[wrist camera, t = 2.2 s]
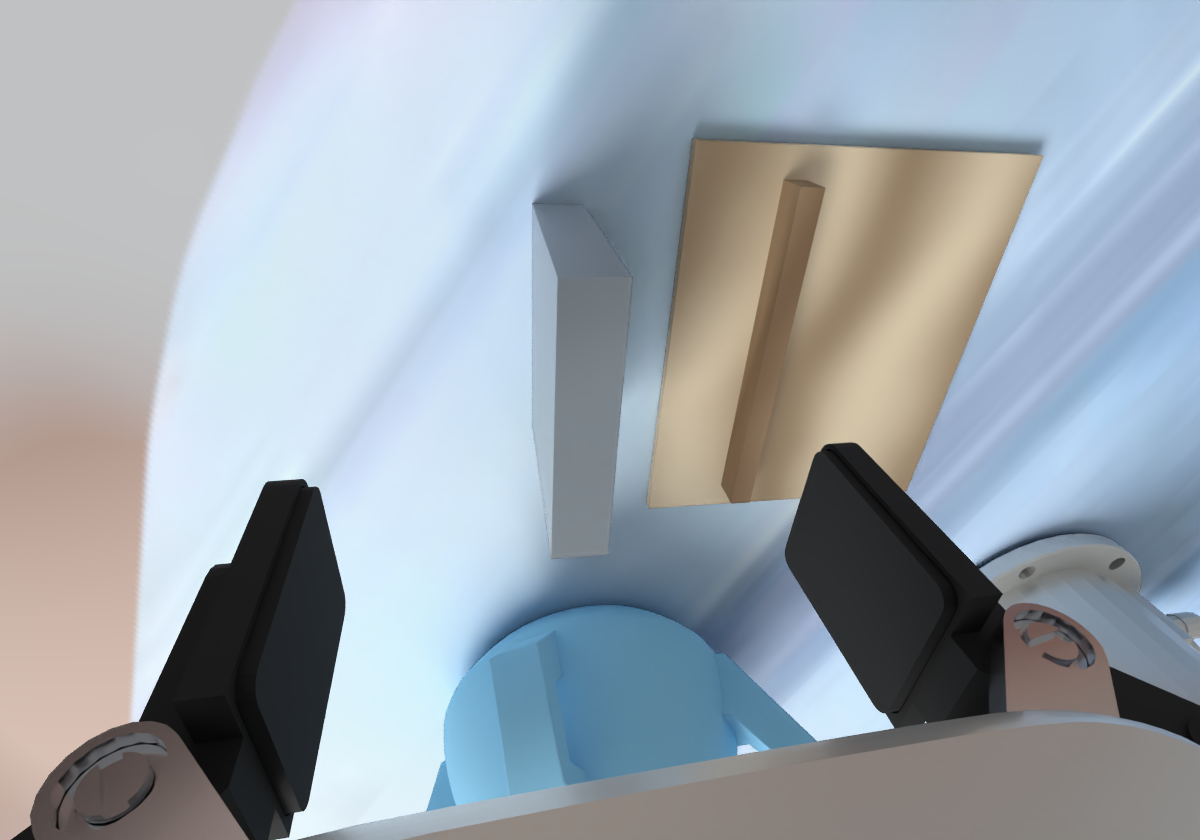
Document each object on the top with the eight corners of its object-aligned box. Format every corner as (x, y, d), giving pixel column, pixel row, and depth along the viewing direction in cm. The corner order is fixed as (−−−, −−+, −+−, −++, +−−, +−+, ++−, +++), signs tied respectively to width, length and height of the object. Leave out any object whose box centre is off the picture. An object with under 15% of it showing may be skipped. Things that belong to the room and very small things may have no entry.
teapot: (782, 603, 31) (909, 835, 22) (654, 770, 37) (711, 1003, 28) (494, 547, 25) (503, 823, 16) (402, 753, 32) (373, 1034, 23)
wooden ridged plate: (1033, 153, 20) (1073, 161, 19) (901, 485, 27) (922, 508, 26) (692, 138, 18) (709, 146, 17) (646, 502, 25) (655, 527, 24)
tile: (583, 204, 19) (632, 276, 13) (574, 423, 23) (608, 554, 17) (532, 203, 18) (557, 277, 12) (531, 425, 22) (551, 559, 17)
